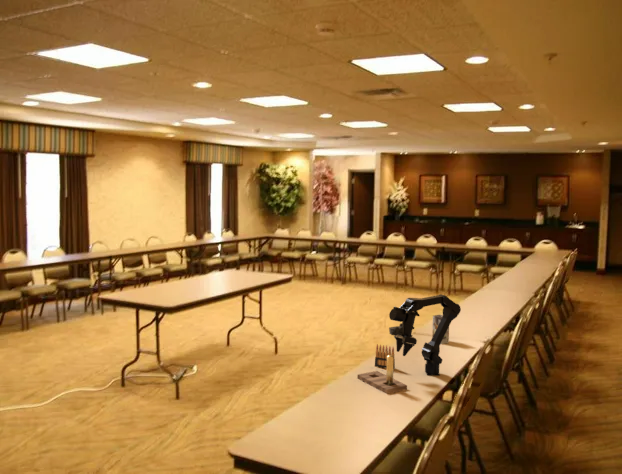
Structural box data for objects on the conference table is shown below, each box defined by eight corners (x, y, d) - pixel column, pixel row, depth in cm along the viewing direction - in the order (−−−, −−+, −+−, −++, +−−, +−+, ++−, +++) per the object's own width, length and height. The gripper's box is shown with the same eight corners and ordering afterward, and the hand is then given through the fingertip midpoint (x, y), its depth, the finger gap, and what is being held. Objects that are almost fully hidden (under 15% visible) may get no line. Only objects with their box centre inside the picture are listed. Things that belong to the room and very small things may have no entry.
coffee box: (449, 343, 347) (450, 317, 346) (440, 344, 344) (441, 318, 343) (439, 339, 355) (440, 314, 354) (431, 340, 353) (432, 315, 351)
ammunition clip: (374, 366, 300) (375, 344, 299) (375, 365, 302) (376, 343, 301) (393, 369, 295) (394, 347, 294) (394, 368, 297) (395, 346, 296)
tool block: (357, 378, 281) (357, 374, 281) (376, 374, 287) (376, 370, 286) (386, 393, 260) (386, 389, 260) (406, 389, 266) (407, 385, 266)
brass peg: (391, 386, 270) (391, 354, 269) (394, 388, 267) (394, 356, 266) (385, 386, 269) (385, 355, 268) (387, 389, 266) (388, 357, 265)
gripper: (387, 316, 288) (380, 346, 288) (399, 323, 269) (391, 354, 269) (407, 321, 290) (400, 350, 289) (420, 327, 271) (413, 359, 271)
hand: (400, 353), depth 280 cm, fingers open, 9 cm apart
